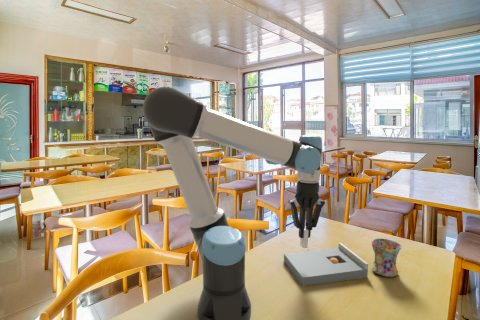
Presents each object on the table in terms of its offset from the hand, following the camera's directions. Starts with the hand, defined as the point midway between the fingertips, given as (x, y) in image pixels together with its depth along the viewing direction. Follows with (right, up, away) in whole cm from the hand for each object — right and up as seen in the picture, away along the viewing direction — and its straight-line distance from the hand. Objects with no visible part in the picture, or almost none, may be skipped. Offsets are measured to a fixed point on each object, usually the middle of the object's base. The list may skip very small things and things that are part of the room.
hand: (303, 246), depth 103 cm
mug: (+29, -9, +2) cm, 30 cm away
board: (+8, -9, +3) cm, 12 cm away
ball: (+11, -9, +4) cm, 15 cm away
